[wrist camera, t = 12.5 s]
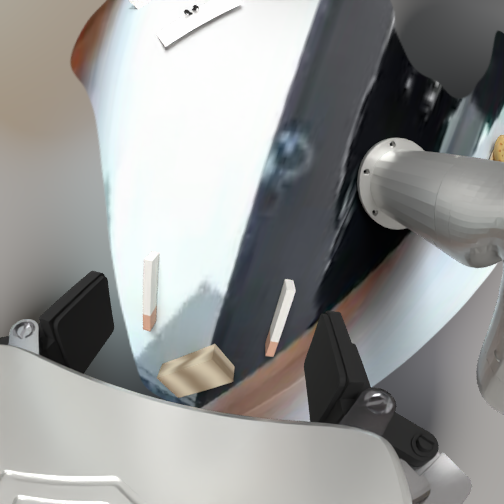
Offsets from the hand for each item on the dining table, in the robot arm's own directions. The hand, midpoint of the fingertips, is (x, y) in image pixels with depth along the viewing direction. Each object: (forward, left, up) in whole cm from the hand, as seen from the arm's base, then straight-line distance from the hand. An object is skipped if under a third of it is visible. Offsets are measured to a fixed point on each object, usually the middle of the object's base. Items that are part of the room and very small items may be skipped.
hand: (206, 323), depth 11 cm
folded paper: (+14, -28, -26) cm, 40 cm away
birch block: (+2, +29, -25) cm, 39 cm away
